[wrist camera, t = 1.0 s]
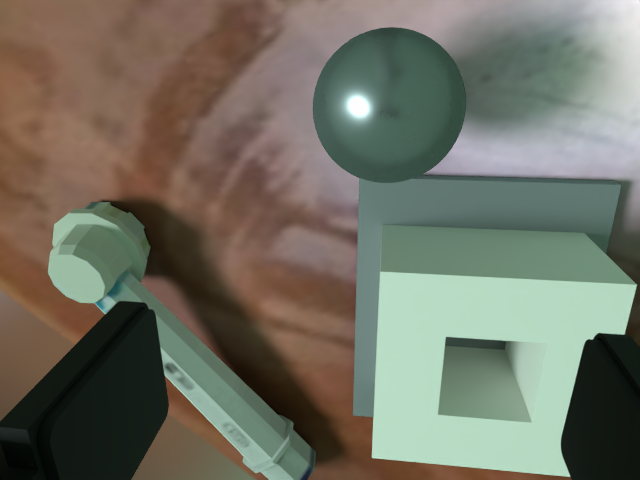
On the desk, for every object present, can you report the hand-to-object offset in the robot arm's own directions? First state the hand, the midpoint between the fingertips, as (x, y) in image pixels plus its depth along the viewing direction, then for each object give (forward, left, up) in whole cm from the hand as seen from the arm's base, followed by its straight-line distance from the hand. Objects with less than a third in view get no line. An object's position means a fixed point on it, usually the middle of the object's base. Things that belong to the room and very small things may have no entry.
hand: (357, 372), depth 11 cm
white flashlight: (+14, -12, -22) cm, 29 cm away
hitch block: (+10, +6, -22) cm, 25 cm away
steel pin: (-4, 0, -22) cm, 22 cm away
